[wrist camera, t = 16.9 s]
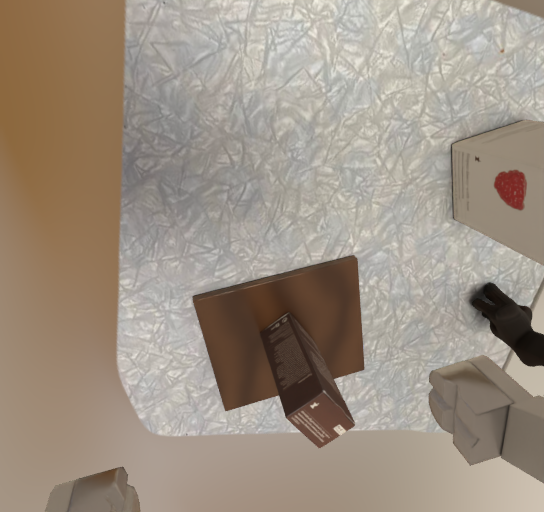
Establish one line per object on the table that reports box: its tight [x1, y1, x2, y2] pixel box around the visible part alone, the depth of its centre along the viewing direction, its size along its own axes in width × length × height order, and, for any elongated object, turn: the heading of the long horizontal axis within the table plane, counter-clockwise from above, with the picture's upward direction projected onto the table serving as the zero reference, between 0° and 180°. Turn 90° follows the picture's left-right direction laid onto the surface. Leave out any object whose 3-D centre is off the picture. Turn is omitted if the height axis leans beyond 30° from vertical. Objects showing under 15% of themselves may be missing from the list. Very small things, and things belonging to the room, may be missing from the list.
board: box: [193, 256, 364, 411], centre depth 45 cm, size 18×16×1 cm
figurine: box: [472, 283, 544, 367], centre depth 44 cm, size 11×7×15 cm
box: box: [260, 313, 355, 448], centre depth 39 cm, size 6×4×12 cm
